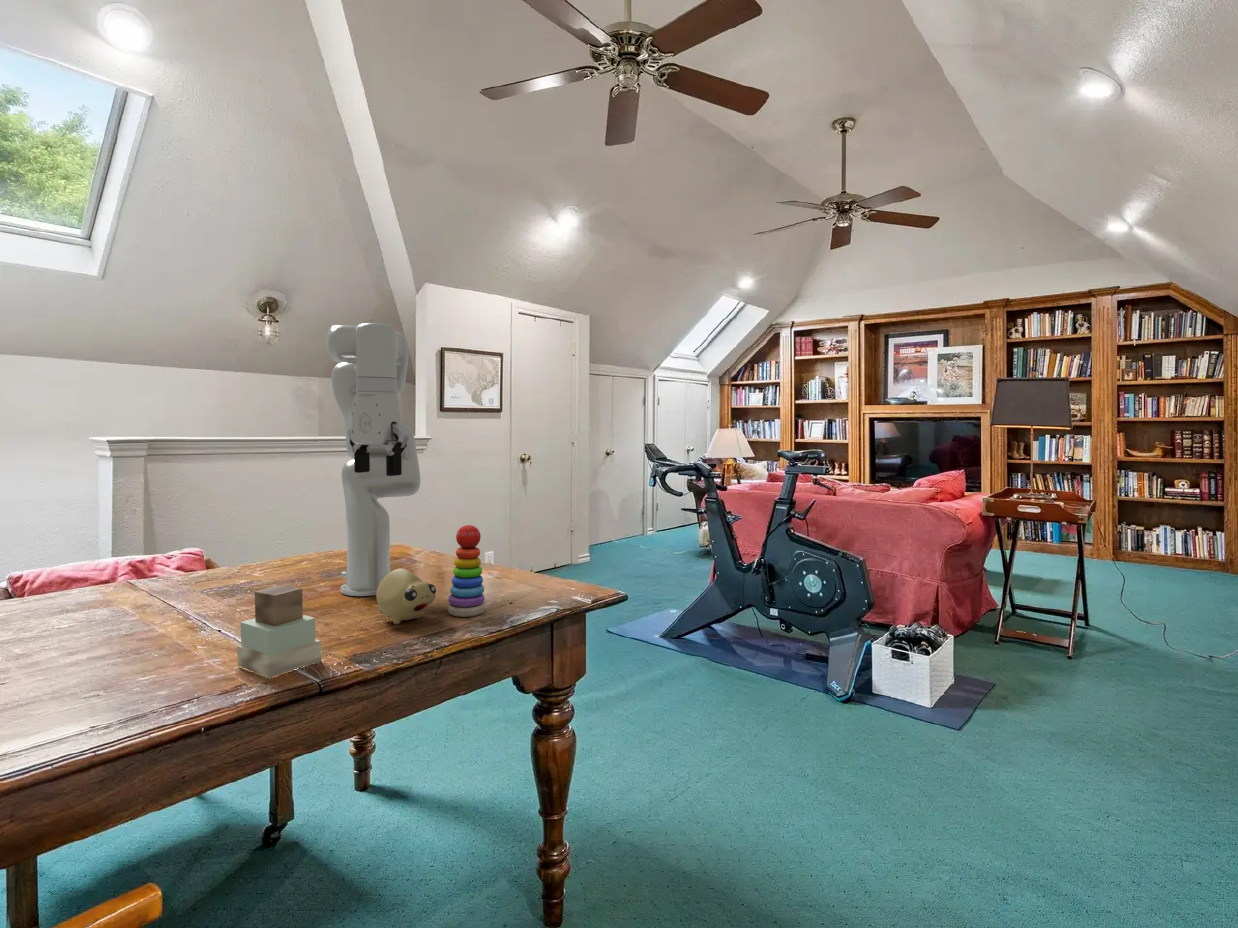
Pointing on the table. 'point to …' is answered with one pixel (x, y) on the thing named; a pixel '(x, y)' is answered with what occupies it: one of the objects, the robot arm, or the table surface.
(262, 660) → the base block
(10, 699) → the table surface
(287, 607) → the walnut cube
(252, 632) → the top block
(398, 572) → the toy frog
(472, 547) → the stacking toy
